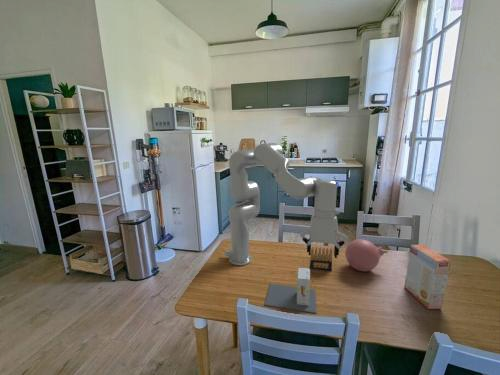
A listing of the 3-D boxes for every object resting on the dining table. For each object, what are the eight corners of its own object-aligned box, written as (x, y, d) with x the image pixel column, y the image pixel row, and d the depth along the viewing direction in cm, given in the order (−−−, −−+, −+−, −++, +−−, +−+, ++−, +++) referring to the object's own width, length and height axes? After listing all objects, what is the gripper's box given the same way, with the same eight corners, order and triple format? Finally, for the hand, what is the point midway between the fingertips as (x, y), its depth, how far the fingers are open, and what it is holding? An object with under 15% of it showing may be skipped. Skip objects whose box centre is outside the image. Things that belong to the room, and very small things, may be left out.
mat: (264, 305, 96) (264, 304, 96) (269, 284, 110) (270, 283, 110) (316, 313, 92) (316, 312, 92) (315, 290, 105) (315, 289, 105)
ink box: (297, 291, 104) (298, 266, 102) (308, 292, 103) (310, 267, 101) (296, 304, 96) (297, 278, 93) (308, 306, 95) (310, 279, 92)
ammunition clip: (331, 269, 121) (332, 247, 119) (331, 271, 120) (333, 249, 117) (309, 267, 123) (310, 245, 121) (309, 269, 122) (310, 247, 119)
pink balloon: (393, 278, 113) (398, 248, 110) (350, 277, 114) (353, 247, 111) (378, 261, 128) (382, 234, 125) (340, 260, 129) (342, 233, 126)
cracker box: (442, 309, 93) (452, 260, 89) (427, 310, 93) (436, 261, 88) (416, 286, 107) (424, 243, 102) (403, 287, 107) (410, 244, 102)
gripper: (347, 211, 91) (344, 252, 95) (301, 208, 95) (300, 248, 99) (350, 218, 84) (347, 262, 88) (300, 214, 88) (299, 257, 92)
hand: (322, 255), depth 93 cm, fingers open, 9 cm apart
